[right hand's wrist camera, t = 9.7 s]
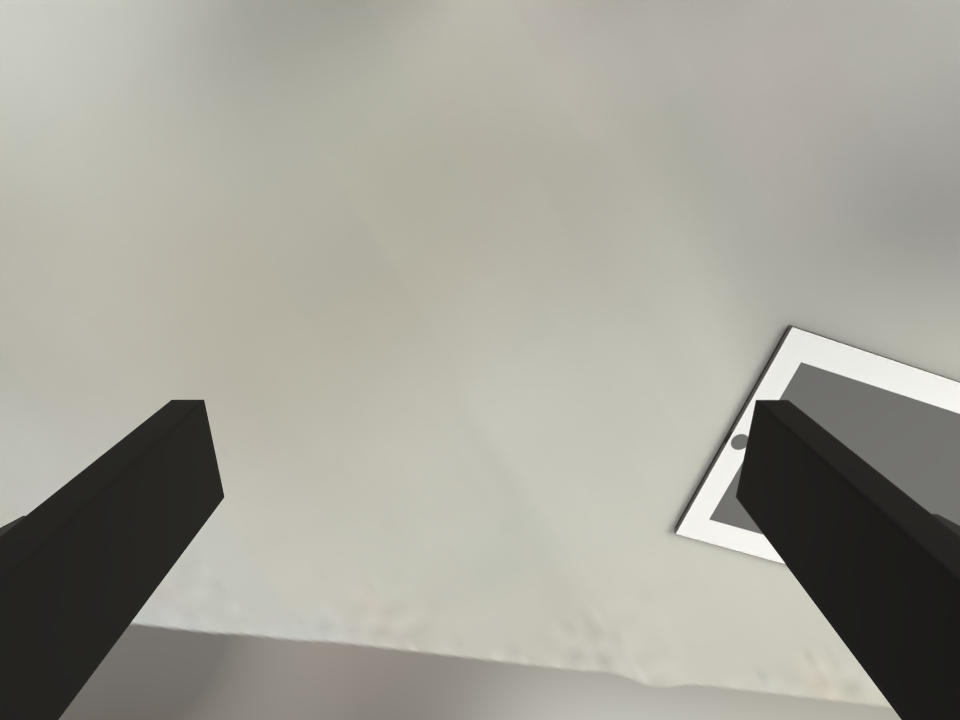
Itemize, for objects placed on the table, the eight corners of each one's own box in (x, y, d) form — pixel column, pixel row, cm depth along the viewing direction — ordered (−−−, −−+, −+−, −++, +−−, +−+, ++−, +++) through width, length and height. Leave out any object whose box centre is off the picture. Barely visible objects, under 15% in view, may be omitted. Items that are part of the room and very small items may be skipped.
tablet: (1131, 439, 44) (1137, 442, 43) (976, 615, 51) (980, 619, 50) (789, 325, 40) (792, 327, 40) (673, 532, 47) (674, 535, 47)
